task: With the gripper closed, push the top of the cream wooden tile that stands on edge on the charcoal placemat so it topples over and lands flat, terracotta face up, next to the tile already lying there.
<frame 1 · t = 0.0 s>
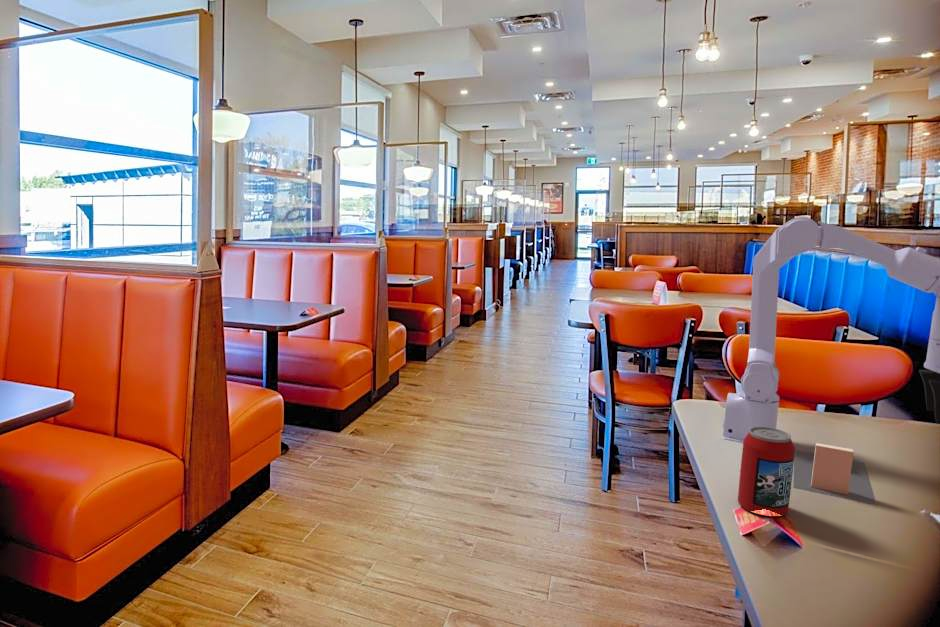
hand: (939, 417, 99), 10 cm above the table, tool pointing down, fingers open, 7 cm apart
beverage can: (761, 511, 85), on the table
placemat: (830, 476, 98), on the table
flat tile: (832, 462, 103), resting on placemat
tile: (829, 489, 92), resting on placemat
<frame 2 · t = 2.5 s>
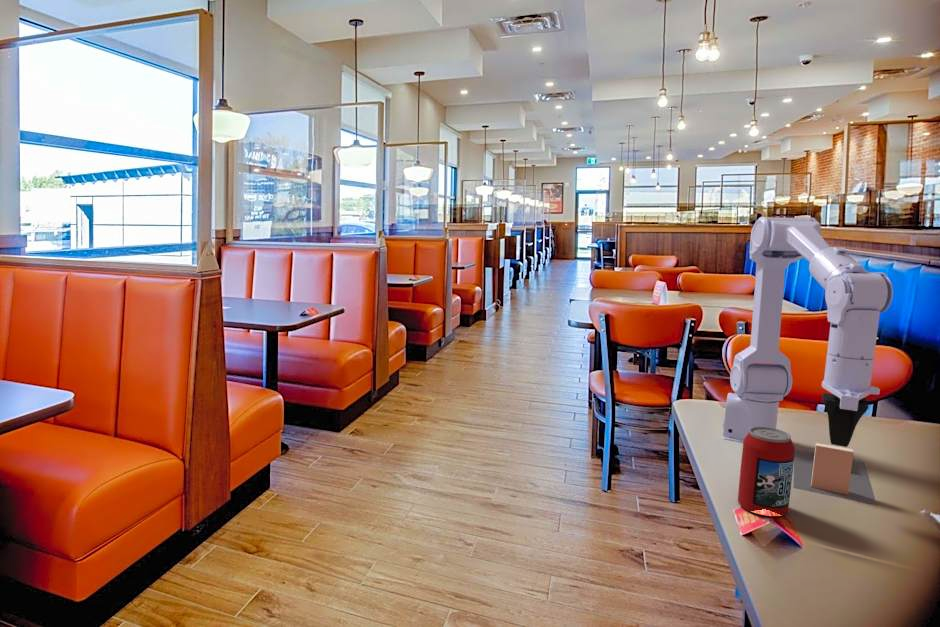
hand: (838, 444, 86), 10 cm above the table, tool pointing down, fingers closed
nothing on the table moved.
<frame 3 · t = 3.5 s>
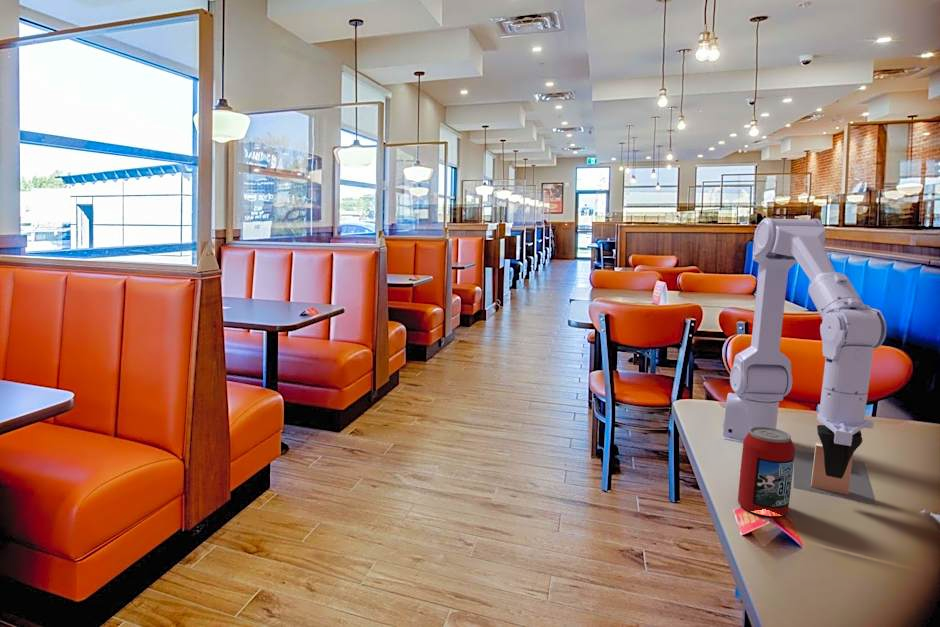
hand: (833, 475, 87), 5 cm above the table, tool pointing down, fingers closed
nothing on the table moved.
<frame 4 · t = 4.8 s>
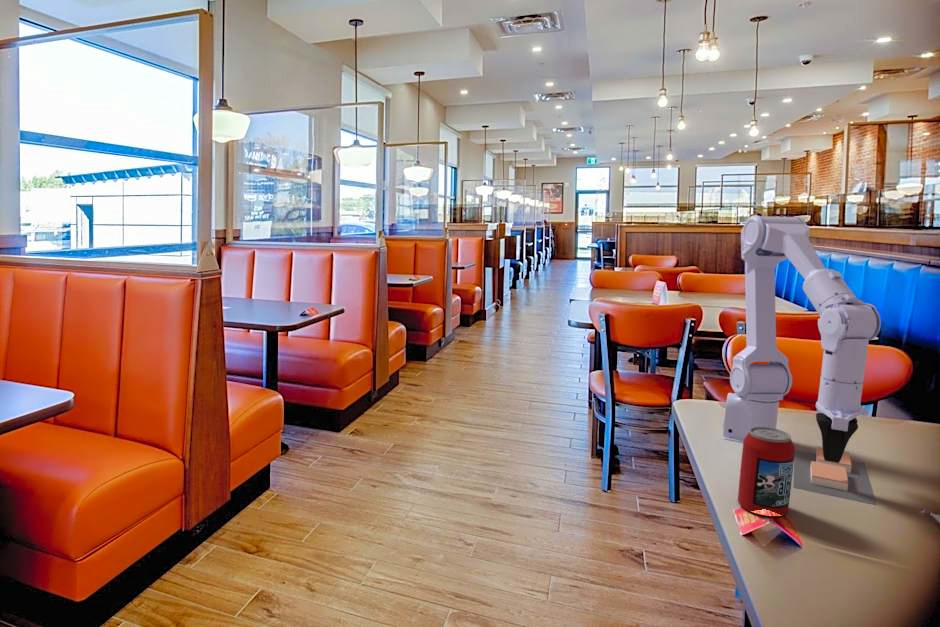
hand: (831, 460, 93), 5 cm above the table, tool pointing down, fingers closed
tile: (829, 483, 93), point 1 cm above the table, tilted 90°, touching placemat
everything else where it was.
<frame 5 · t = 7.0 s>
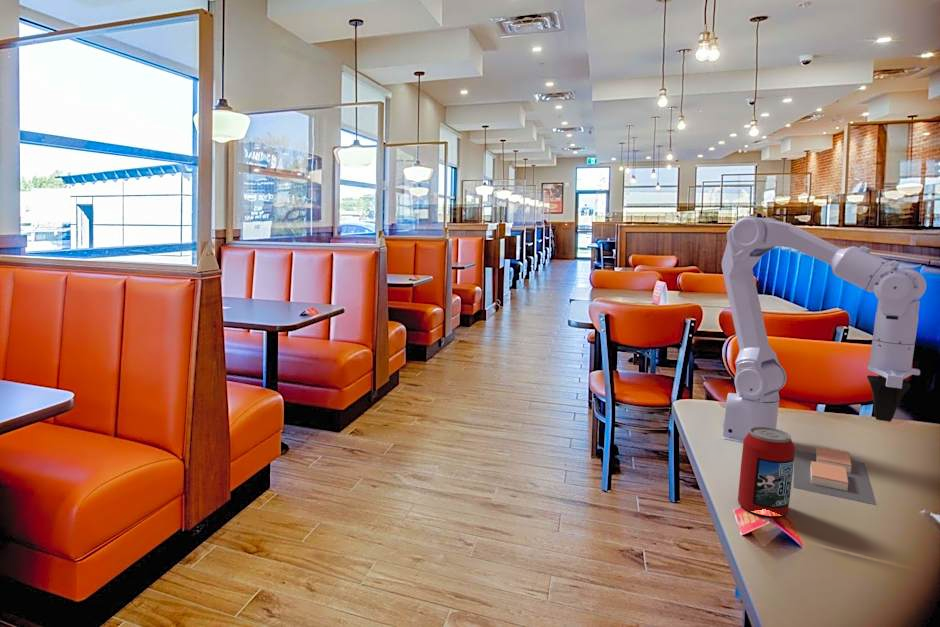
hand: (882, 419, 98), 10 cm above the table, tool pointing down, fingers closed
nothing on the table moved.
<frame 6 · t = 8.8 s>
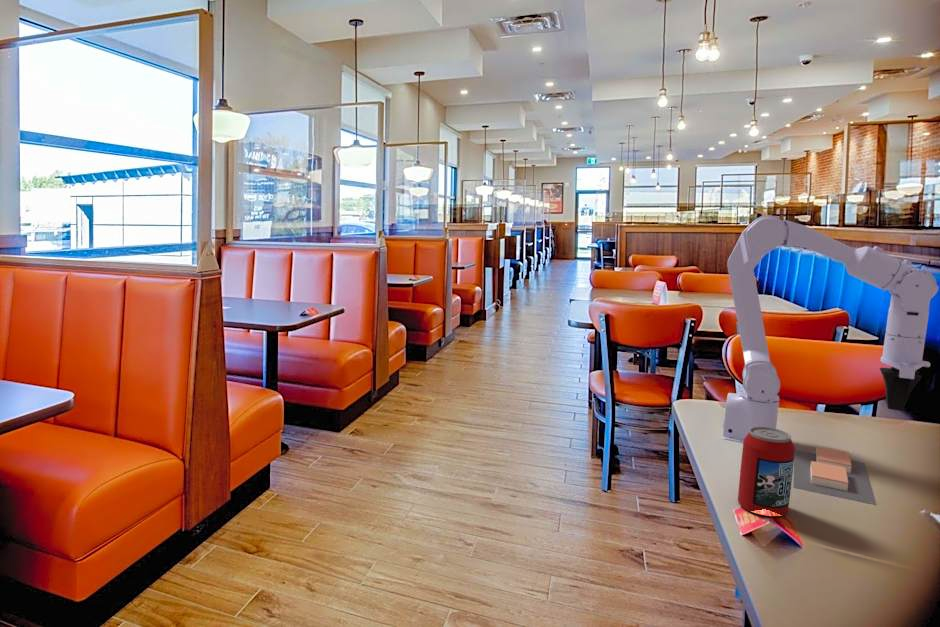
hand: (894, 409, 104), 10 cm above the table, tool pointing down, fingers closed
nothing on the table moved.
at the end: tile tilted 90°; tile inside the target area (3.7 cm from its centre), point 1.1 cm above the table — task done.
